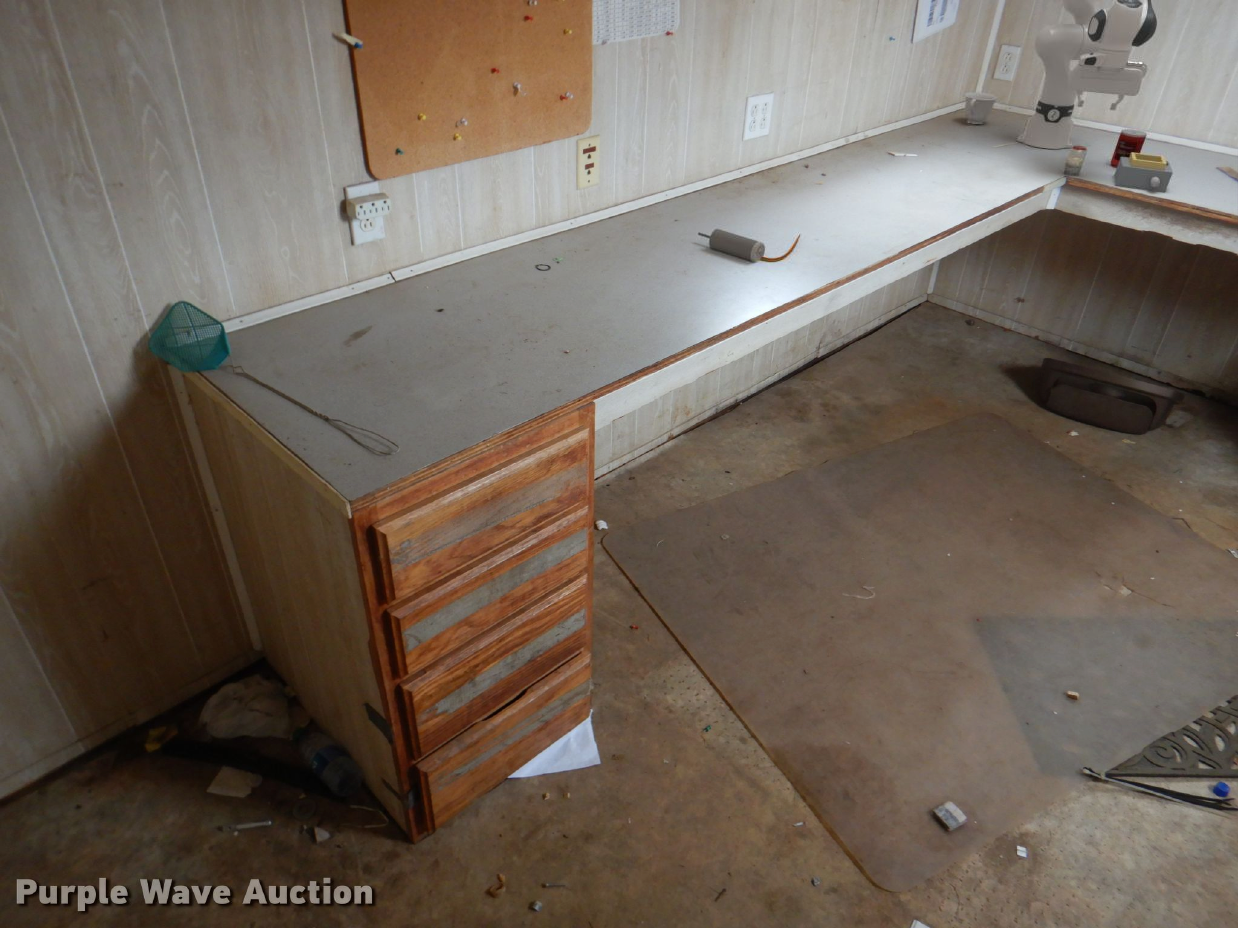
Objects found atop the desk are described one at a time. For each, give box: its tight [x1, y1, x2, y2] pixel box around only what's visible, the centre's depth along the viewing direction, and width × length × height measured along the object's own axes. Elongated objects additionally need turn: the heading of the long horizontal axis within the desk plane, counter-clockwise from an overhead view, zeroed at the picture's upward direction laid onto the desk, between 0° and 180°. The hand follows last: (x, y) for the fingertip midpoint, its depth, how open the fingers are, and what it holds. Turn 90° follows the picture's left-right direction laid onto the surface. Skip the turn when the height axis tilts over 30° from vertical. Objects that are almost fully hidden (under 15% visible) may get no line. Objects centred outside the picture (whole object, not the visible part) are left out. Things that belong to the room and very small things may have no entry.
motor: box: [697, 228, 802, 263], centre depth 219 cm, size 23×22×5 cm
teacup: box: [964, 92, 999, 125], centre depth 329 cm, size 12×15×10 cm
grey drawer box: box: [1113, 152, 1174, 193], centre depth 269 cm, size 15×14×8 cm
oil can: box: [1062, 145, 1088, 177], centre depth 277 cm, size 5×5×8 cm
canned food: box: [1110, 128, 1147, 169], centre depth 286 cm, size 8×8×11 cm
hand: (1095, 108), depth 267 cm, fingers open, 8 cm apart
